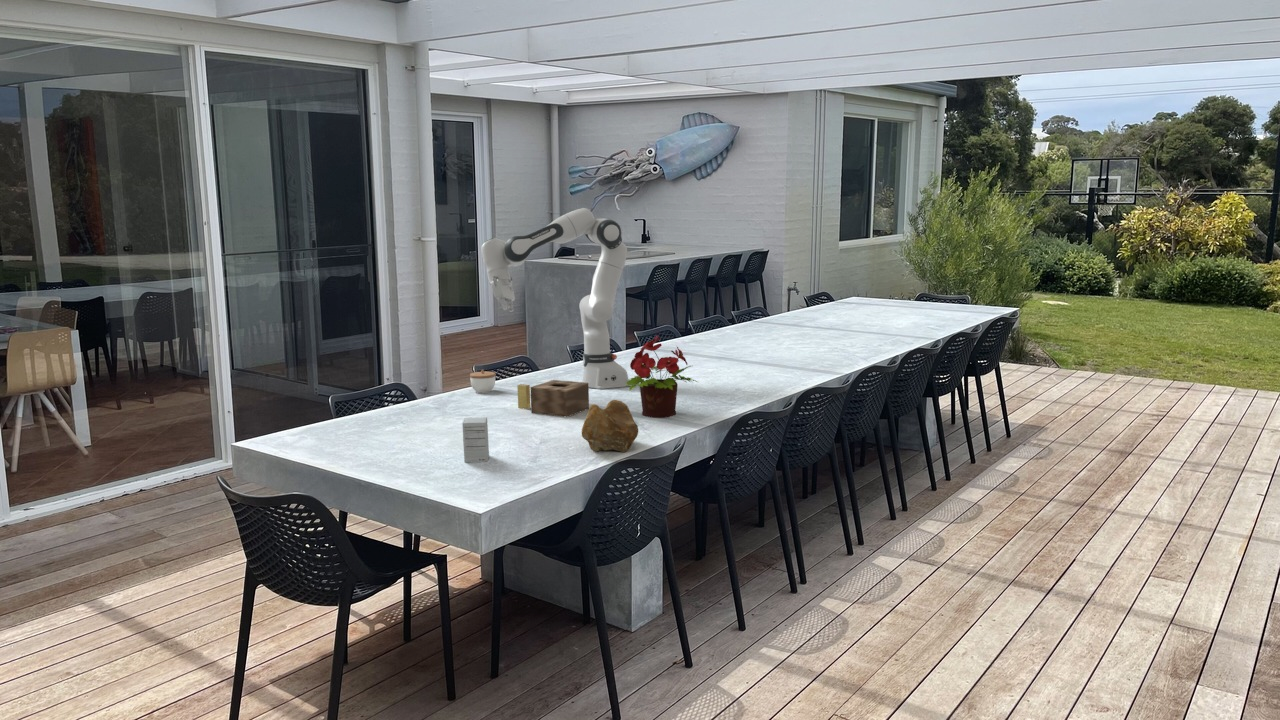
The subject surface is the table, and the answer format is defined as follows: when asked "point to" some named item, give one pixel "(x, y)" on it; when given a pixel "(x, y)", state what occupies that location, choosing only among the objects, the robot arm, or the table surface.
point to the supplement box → (475, 439)
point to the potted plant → (656, 381)
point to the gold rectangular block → (523, 396)
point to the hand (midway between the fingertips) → (508, 310)
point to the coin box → (559, 398)
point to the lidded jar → (482, 381)
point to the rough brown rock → (610, 427)
